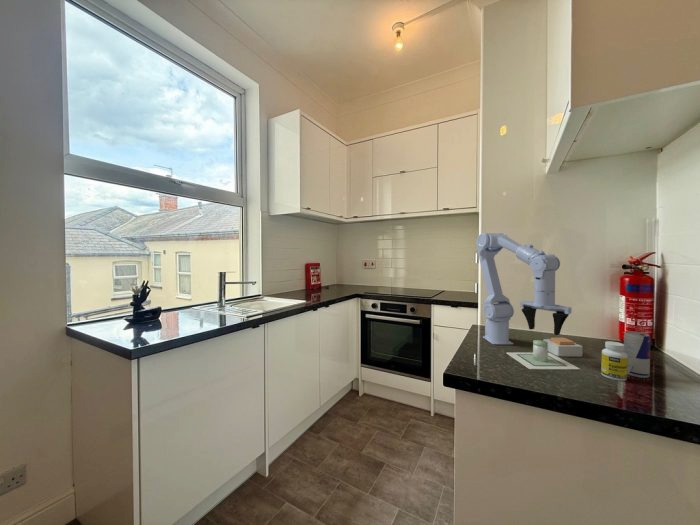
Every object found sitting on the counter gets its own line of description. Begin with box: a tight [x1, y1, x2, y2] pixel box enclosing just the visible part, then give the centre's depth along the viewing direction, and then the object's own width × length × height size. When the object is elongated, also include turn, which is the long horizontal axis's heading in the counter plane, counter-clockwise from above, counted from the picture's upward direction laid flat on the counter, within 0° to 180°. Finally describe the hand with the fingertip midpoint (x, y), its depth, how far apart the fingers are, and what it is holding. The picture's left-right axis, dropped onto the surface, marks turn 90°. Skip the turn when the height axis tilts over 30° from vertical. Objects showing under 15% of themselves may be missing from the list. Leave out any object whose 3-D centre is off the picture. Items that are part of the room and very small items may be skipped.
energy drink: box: [623, 330, 651, 379], centre depth 81 cm, size 5×5×12 cm
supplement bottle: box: [600, 340, 628, 382], centre depth 80 cm, size 5×5×10 cm
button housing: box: [542, 338, 584, 358], centre depth 100 cm, size 8×8×4 cm
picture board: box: [505, 352, 581, 371], centre depth 93 cm, size 14×15×1 cm
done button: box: [550, 337, 575, 345], centre depth 100 cm, size 5×5×2 cm
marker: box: [532, 339, 549, 362], centre depth 92 cm, size 4×4×6 cm
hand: (543, 331), depth 93 cm, fingers open, 7 cm apart
